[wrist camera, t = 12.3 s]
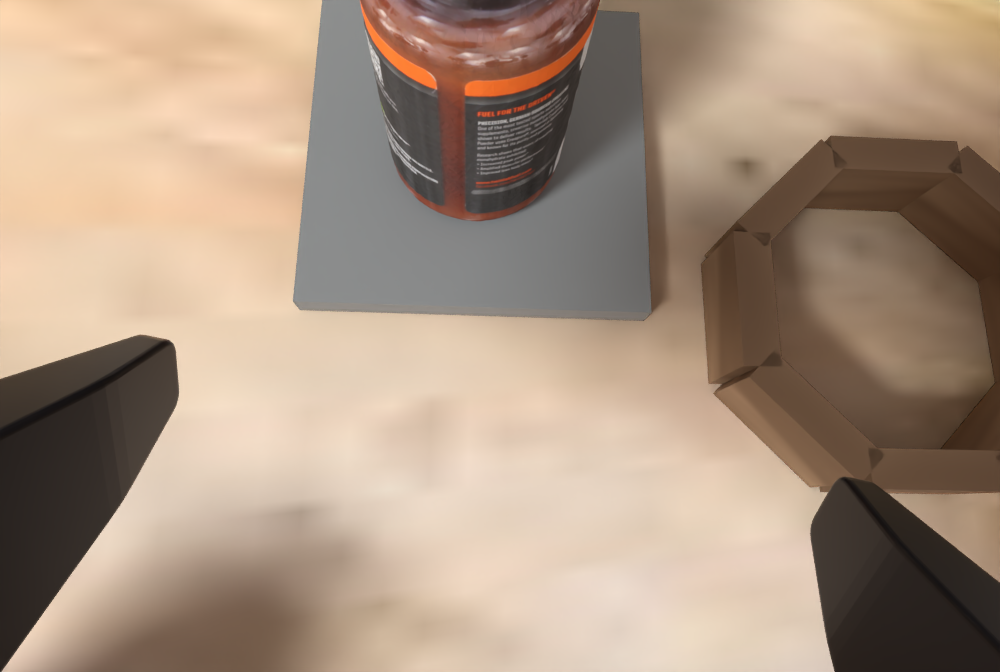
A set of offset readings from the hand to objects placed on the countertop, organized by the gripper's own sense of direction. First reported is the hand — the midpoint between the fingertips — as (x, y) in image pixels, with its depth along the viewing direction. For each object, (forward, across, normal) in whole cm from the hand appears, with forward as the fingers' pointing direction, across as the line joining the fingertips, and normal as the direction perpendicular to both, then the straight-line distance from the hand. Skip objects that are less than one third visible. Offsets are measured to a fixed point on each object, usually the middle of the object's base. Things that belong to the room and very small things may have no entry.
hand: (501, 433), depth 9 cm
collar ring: (+15, -12, +4) cm, 20 cm away
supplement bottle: (+17, +2, +1) cm, 17 cm away
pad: (+18, +2, +2) cm, 18 cm away
